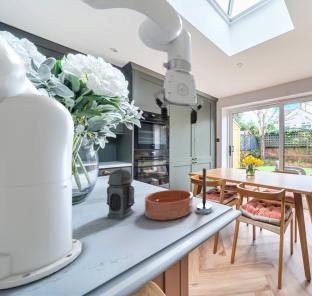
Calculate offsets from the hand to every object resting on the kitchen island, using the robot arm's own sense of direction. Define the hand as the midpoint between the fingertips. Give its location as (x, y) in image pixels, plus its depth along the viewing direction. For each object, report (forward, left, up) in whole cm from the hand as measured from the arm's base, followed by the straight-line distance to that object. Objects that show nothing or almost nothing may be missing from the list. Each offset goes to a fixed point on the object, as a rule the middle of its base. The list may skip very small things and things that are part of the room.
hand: (179, 122), depth 56 cm
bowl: (-1, +4, -30) cm, 30 cm away
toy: (-10, +16, -30) cm, 35 cm away
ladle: (+5, -6, -30) cm, 31 cm away
